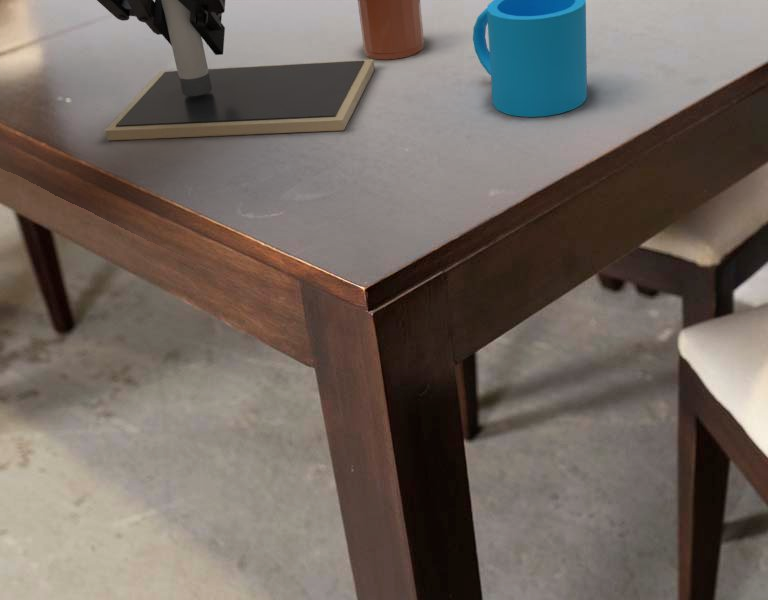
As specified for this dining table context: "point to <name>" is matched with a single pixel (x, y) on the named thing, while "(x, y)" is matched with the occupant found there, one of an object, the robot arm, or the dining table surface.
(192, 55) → the stylus
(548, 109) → the mug
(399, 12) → the pen cup
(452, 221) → the dining table surface
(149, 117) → the small chalkboard
